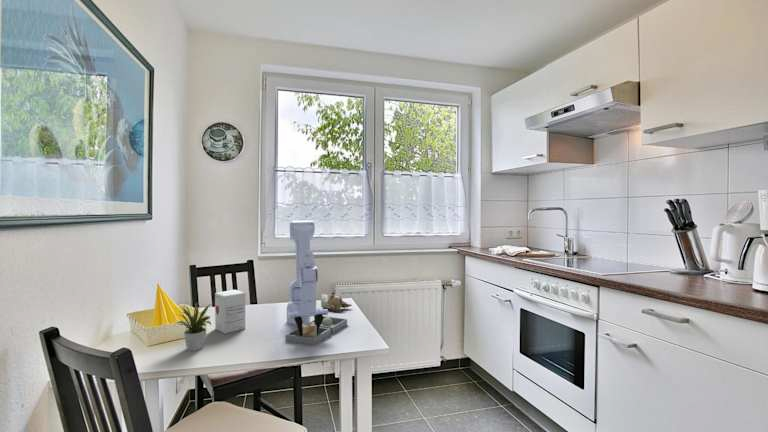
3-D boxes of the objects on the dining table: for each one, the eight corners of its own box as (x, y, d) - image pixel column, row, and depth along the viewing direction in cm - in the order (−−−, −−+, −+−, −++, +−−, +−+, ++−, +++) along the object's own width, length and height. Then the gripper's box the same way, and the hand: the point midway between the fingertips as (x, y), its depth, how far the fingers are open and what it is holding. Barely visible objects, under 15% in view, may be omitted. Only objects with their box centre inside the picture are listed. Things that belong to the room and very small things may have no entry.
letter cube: (303, 341, 136) (303, 327, 135) (300, 336, 140) (300, 323, 140) (316, 339, 138) (316, 325, 137) (313, 335, 142) (313, 321, 142)
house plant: (164, 360, 120) (164, 309, 120) (170, 345, 133) (169, 300, 132) (213, 353, 126) (213, 305, 125) (214, 339, 138) (213, 296, 138)
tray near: (285, 342, 136) (285, 334, 135) (304, 332, 147) (304, 325, 147) (313, 347, 131) (313, 338, 131) (330, 336, 142) (330, 328, 142)
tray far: (306, 331, 148) (306, 323, 148) (322, 322, 159) (322, 315, 159) (332, 335, 144) (332, 327, 144) (347, 326, 155) (347, 319, 155)
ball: (320, 328, 150) (320, 318, 150) (325, 325, 154) (325, 315, 154) (328, 329, 149) (328, 319, 149) (333, 326, 152) (333, 316, 152)
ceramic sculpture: (328, 288, 188) (353, 293, 181) (327, 304, 188) (352, 310, 181) (314, 292, 179) (340, 297, 172) (314, 310, 179) (339, 316, 172)
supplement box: (214, 329, 151) (214, 292, 151) (235, 324, 157) (235, 289, 157) (224, 334, 145) (223, 296, 144) (246, 328, 151) (245, 292, 151)
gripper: (290, 304, 132) (290, 342, 132) (330, 300, 138) (330, 336, 138) (287, 299, 139) (287, 335, 139) (325, 296, 144) (325, 330, 144)
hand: (308, 335), depth 139 cm, fingers closed on letter cube, 5 cm apart
